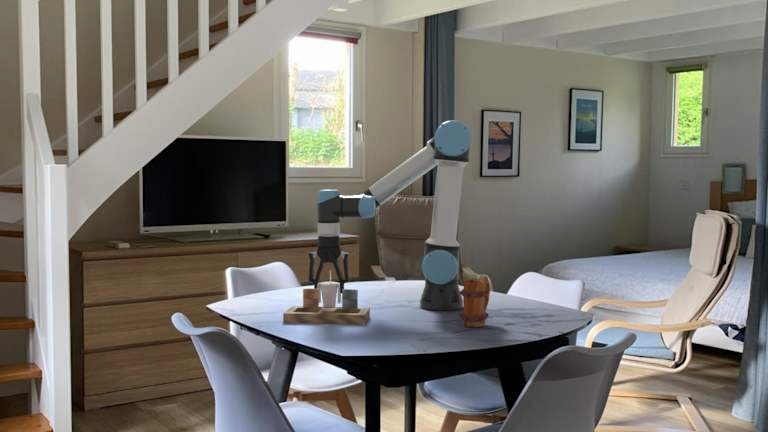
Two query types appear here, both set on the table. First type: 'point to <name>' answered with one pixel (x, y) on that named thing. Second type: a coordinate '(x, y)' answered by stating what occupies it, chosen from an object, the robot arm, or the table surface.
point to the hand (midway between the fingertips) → (329, 302)
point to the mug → (475, 301)
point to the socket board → (327, 310)
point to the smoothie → (329, 293)
